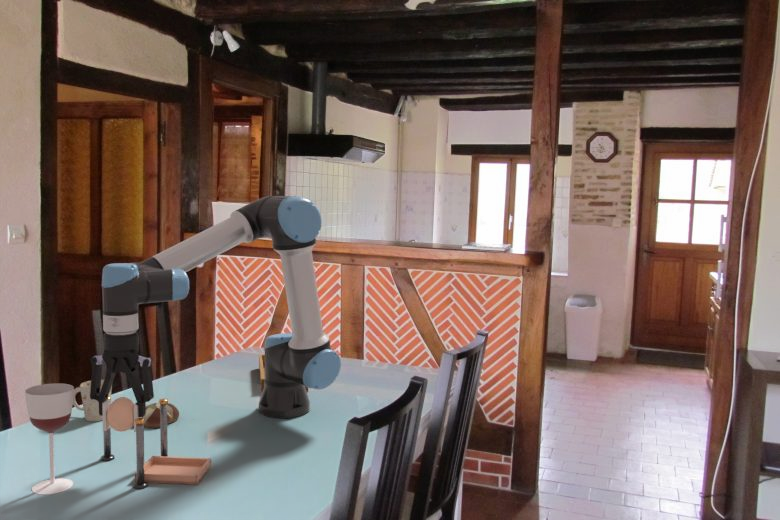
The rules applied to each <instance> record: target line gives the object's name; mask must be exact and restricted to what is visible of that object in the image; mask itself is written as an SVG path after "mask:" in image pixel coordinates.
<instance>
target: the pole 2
mask: <svg viewBox="0 0 780 520" xmlns="http://www.w3.org/2000/svg"><path fill="white" fill-rule="evenodd" d="M144 423H145V419H144V418H137V419H135V424H136V432H135V434H136V435H135V440H136V441H135V442H136V444H135V446H136V450H135V451H136V472H137V482H134V483H133V488H134V489H135V490H143V489H146V488H148V486H149V483H148V482H146V481H145V476H144V464H145V426H144Z"/></svg>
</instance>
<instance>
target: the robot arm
mask: <svg viewBox="0 0 780 520" xmlns="http://www.w3.org/2000/svg"><path fill="white" fill-rule="evenodd" d="M321 215H322V214H321V212H320V210H319V208H318V207H317V206H316V204H315V203H313V201H311V200H309V199H307V198H305V197H300V196H296V195H293V196H292V195H288V196H286V195H266V196H264V197H260V198H258V199H256V200H253V201H252V202H249V203H247V204H245V205H244V206H241V207H240V208H238V209H236V210H234V211H232V212H231V214H230V217H228V218H226V219H224V220H223V221H220V222H218V223H217V224H214V225H212V226H210V227H208V228H206V229H205V230H202V231H201V232H198V233H196V234H194V235H192V236H191V237H188V238H186V239H184V240H183V241H180V242H178V243H177V244H175V245H173V246H170V247H168V248H166V249H165V250H163V251H160V252H159V253H157V254H154V255H153V256H151V257H149V258H145V259H144V260H143V261H142V260H141V261H140V262H129V263H127V262H123V263H122V262H121V263H120V262H118V263H116V262H114V263H109V264H108V263H107V264H105V266H104V267H103V268H102V275H101V289H102V292H101V293H102V295H101V296H102V326H103V327H102V330H103V331H104V333H103V335H102V337H103V340H102V341H103V342H102V343H103V345H102V346H103V347H102V348H103V353H102V354H101V355H99V354H96V355H93V356H91V357H90V358H89V361H90V362H89V363H90V364H91V378H90V381H91V389H90V398H91V399H92V400H93V399H95V400H97V401H98V402H99V415H101V416H103V420H102V431H107V430H108V429H109V428H112V427H111V426H110V425H109V424H108V421H107V412H108V409H109V407H110V405H111V404H112V400H107V398H109V397H108V395H109V392H110V389H111V386H112V387H113V382H114V379H115V377H116V374H117V373H123V374H125V376H126V377H127V379H128V382H129V384H130V387H131V390H132V392H133V396H134V397H135V401H136V402H135V403H134V425H133V433H136V424H135V419H137V418H142V417H143V416H145V414H146V406H147V405H146V403H147V402H148V403H149V402H150V401H151V400H152V399H154V398H155V393H154V383H153V375H152V363H153V357H152V356H148V357H145V356H142V355H141V353H140V351H139V346H140V344H139V343H140V339H139V332H138V329H139V327H140V325H139V305H144V304H151V303H163V302H164V303H165V302H175V301H181V300H184V299H186V298H187V297H188V295H189V292H190V279H189V276H188V274H187V272H189V271H191V270H193V269H195V268H197V267H198V266H200V265H202V264H204V263H206V262H207V261H210V260H212V259H214V258H216V257H217V256H219V255H221V254H223V253H225V252H227V251H229V250H230V249H232V248H234V247H236V246H239V245H241V244H242V243H246V244H250V243H252V242H254V241H255V240H259V239H263V238H264V239H265V238H266V239H267V238H271V242H272V249H273V251H274V252H276V253H278V255H280V263H281V269H282V276H283V281H284V289H285V295H286V302H287V309H288V315H289V321H290V327H291V332H284V333H277V334H276V333H275V334H271V335H268V336H267V337H266V338H265V341H264V348H263V350H264V354H265V386H264V389H263V392H262V394H261V395H260V398H259V401H258V413H259V414H260V415H262V416H265V417H269V418H277V419H280V418H281V419H285V418H286V419H288V418H296V417H301V416H303V415H305V414H308V412H309V411H310V410H311V404H310V403H311V401H310V399H309V395H308V392H306V389H305V386H306V387H308V389H314V390H324V389H326V388H328V387H330V386H332V384H334V382H335V381H336V379H337V378H338V376H339V375H340V371H341V368H342V361H341V357H340V355H339V354H338V353H337V351H335V350H334V349H332V346H331V340H330V336H329V335H328V334H326V332H324V328H323V322H322V321H323V320H322V314H321V308H320V307H321V305H320V299H319V293H318V286H317V279H316V272H315V271H316V270H315V264H314V258H313V249H314V247H315V246H316V245H317V240H316V239H317V237H318V235H319V233H320V230H321V229H322V216H321ZM138 362H139V366H140V367H141V378H142V383H141V380H140V378H139V374H138V368H137V364H138ZM103 363H105V364H106V366H107V368H106V372H105V376H104V379H103V380H104V382H103V385H102V388H101V391H100V387H101V380H102V373H103ZM304 385H305V386H304Z"/></svg>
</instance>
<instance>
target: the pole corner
mask: <svg viewBox="0 0 780 520" xmlns="http://www.w3.org/2000/svg"><path fill="white" fill-rule="evenodd" d="M158 403H159V404H160V427H159V429H160V456H166V457H169V456H168V455H169V454H168V453H169V452H168V451H169V450H168V447H169V445H168V442H169V441H168V424H167V403H169V399H168V398H160V399H159V400H158Z"/></svg>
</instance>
